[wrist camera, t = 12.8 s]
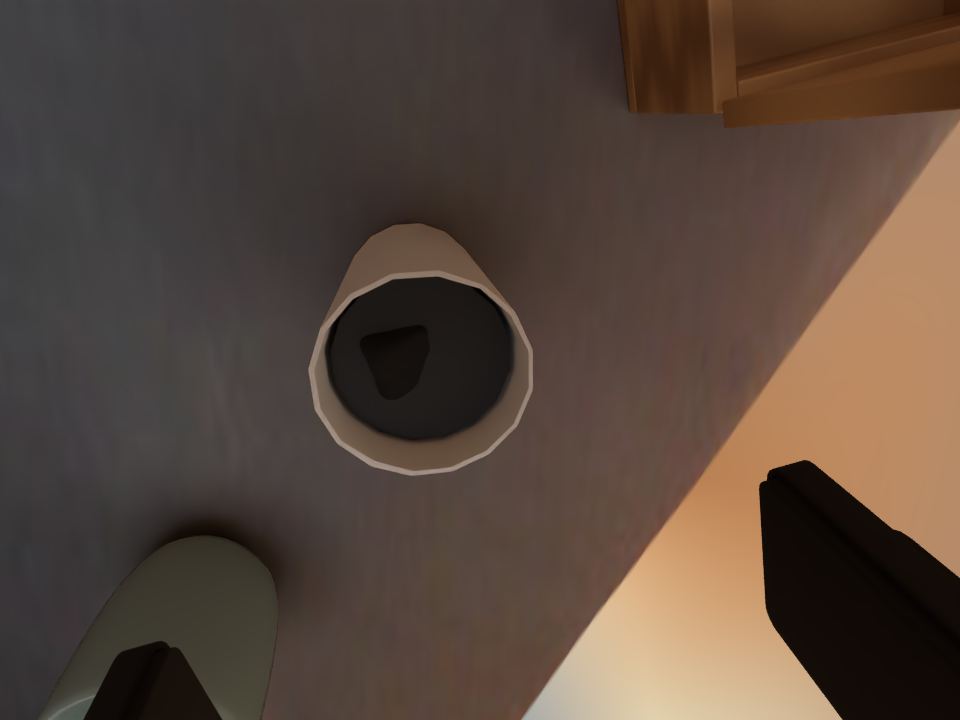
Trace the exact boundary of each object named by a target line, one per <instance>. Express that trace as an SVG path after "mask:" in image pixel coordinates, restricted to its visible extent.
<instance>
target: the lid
mask: <svg viewBox="0 0 960 720" xmlns="http://www.w3.org/2000/svg"><path fill="white" fill-rule="evenodd" d="M722 107H723V118H724V127H725V128H735V127H748V126H760V125H772V124H785V123H797V122H809V121H822V120H834V119H846V118H859V117H871V116H883V115H896V114H908V113H920V112H933V111H945V110H958V109H960V41H958V42H954V43H950V44H946V45H942V46H938V47H934V48H930V49H926V50H922V51H918V52H914V53H910V54H906V55H902V56H898V57H894V58H890V59H886V60H882V61H879V62H875V63H871V64H867V65H863V66H859V67H855V68H851V69H847V70H843V71H839V72H835V73H831V74H827V75H823V76H819V77H815V78H811V79H807V80H803V81H800V82H796V83H792V84H788V85H784V86H780V87H776V88H772V89H768V90H764V91H760V92H756V93H752V94H748V95H744V96H740V97H736V98H732V99H728V100H725V101H723V103H722Z"/></svg>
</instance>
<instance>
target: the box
mask: <svg viewBox="0 0 960 720" xmlns="http://www.w3.org/2000/svg"><path fill="white" fill-rule="evenodd" d="M617 3H618V11H619V20H620V29H621V37H622V46H623V55H624V64H625V72H626V81H627V90H628V98H629V107H630V112H631V113H666V114H719V113H723V107H722V103H723V101H725V100H728V99H732V98H736V97H740V96H744V95H748V94H752V93H756V92H760V91H764V90H768V89H772V88H776V87H780V86H784V85H788V84H792V83H796V82H800V81H803V80H807V79H811V78H815V77H819V76H823V75H827V74H831V73H835V72H839V71H843V70H847V69H851V68H855V67H859V66H863V65H867V64H871V63H875V62H879V61H882V60H886V59H890V58H894V57H898V56H902V55H906V54H910V53H914V52H918V51H922V50H926V49H930V48H934V47H938V46H942V45H946V44H950V43H954V42H958V41H960V0H617Z"/></svg>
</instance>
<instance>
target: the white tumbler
mask: <svg viewBox="0 0 960 720" xmlns="http://www.w3.org/2000/svg"><path fill="white" fill-rule="evenodd" d="M308 370H309V376H310V383H311V389H312V395H313V401H314V408H315V411H316V412H317V414H318V415H319V417H320V418H321V420H322V421H323V423H324V424H325V426H326V427H327V429H328V430H329V432H330V433H331V435H332V436H333V438H334V439H335V441H336V442H337V444H339V445H340V446H342V447H343V448H345V449H346V450H348V451H349V452H350V453H352V454H353V455H355V456H356V457H358V458H359V459H361V460H362V461H364V462H365V463H367V464H368V465H370V466H372V467H376V468H380V469H385V470H389V471H393V472H397V473H402V474H406V475H410V476H414V475H423V474H433V473H442V472H451V471H454V470H456V469H458V468H461V467H463V466H465V465H467V464H469V463H471V462H473V461H475V460H478V459H480V458H482V457H484V456H486V455H488V454H490V453H491V452H492V451H493V450H494V449H495V448H496V447H497V446H498V445H499V444H500V443H501V442H502V441H503V440H504V439H505V438H506V437H507V436H508V435H509V434H510V433H511V432H512V431H513V430H514V429H515V428H516V427H517V425H518V423H519V421H520V418H521V416H522V414H523V411H524V409H525V407H526V404H527V402H528V400H529V397H530V395H531V393H532V390H533V350H532V348H531V345H530V343H529V341H528V339H527V337H526V334H525V332H524V330H523V328H522V326H521V324H520V321H519V319H518V317H517V315H516V313H515V312H514V310H513V309H512V308H511V307H510V305H509V304H508V303H507V302H506V300H505V299H504V298H503V297H502V295H501V294H500V293H499V292H498V290H497V289H496V288H495V287H494V285H493V284H492V283H491V282H490V280H489V279H488V278H487V277H486V275H485V274H484V273H483V272H482V270H481V269H480V268H479V267H478V265H477V264H476V263H475V262H474V260H473V259H472V258H471V257H470V255H469V254H468V253H467V252H466V250H465V249H464V248H463V247H462V246H461V245H460V244H459V243H457V242H456V241H455V240H454V239H453V238H452V237H451V236H450V235H448V234H447V233H446V232H445V231H442V230H439V229H436V228H433V227H430V226H427V225H424V224H421V223H417V224H401V225H393V226H391V227H389V228H387V229H385V230H383V231H381V232H379V233H377V234H375V235H373V236H371V237H370V238H369V239H368V240H367V242H366V243H365V244H364V245H363V246H362V247H361V249H360V250H359V251H358V252H357V253H356V255H355V256H354V258H353V260H352V262H351V264H350V266H349V269H348V271H347V273H346V275H345V277H344V279H343V281H342V283H341V286H340V288H339V290H338V292H337V294H336V296H335V298H334V300H333V303H332V305H331V307H330V309H329V311H328V313H327V315H326V317H325V320H324V322H323V324H322V326H321V328H320V331H319V335H318V338H317V342H316V345H315V348H314V352H313V355H312V359H311V362H310V366H309V369H308Z"/></svg>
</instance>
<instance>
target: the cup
mask: <svg viewBox="0 0 960 720" xmlns="http://www.w3.org/2000/svg"><path fill="white" fill-rule="evenodd" d="M277 631H278V595H277V591H276V587H275V584H274V580H273V577H272V576H271V574H270V572H269V571H268V569H267V567H266V566H265V564H264V563H263V562H262V561H261V560H260V559H259V557H258V556H257V555H255V554H254V553H253V552H251V551H250V550H249V549H247V548H246V547H244V546H242V545H240V544H238V543H236V542H234V541H231V540H229V539H226V538H222V537H218V536H213V535H195V536H188V537H184V538H181V539H178V540H175V541H173V542H170V543H168V544H166V545H164V546H163V547H161V548H159V549H157V550H156V551H154V552H153V553H152V554H150V555H149V556H148V557H147V558H145V559H144V560H143V561H142V562H140V563H139V564H138V565H137V566H136V567H135V568H134V569H133V570H132V571H131V572H130V573H129V574H128V576H127V577H126V578H125V579H124V580H123V581H122V583H121V584H120V585H119V586H118V587H117V589H116V590H115V591H114V592H113V594H112V595H111V596H110V598H109V599H108V600H107V602H106V603H105V605H104V606H103V607H102V609H101V610H100V612H99V613H98V615H97V616H96V618H95V619H94V621H93V622H92V624H91V626H90V627H89V629H88V630H87V632H86V634H85V635H84V637H83V638H82V640H81V642H80V643H79V645H78V647H77V648H76V650H75V652H74V653H73V655H72V657H71V659H70V660H69V662H68V664H67V665H66V667H65V669H64V671H63V672H62V674H61V676H60V677H59V679H58V681H57V683H56V684H55V686H54V688H53V690H52V691H51V693H50V695H49V697H48V698H47V700H46V702H45V704H44V706H43V708H42V709H41V711H40V713H39V715H38V717H37V719H36V720H83V719H84V717H85V715H86V713H87V711H88V709H89V707H90V705H91V703H92V701H93V700H94V698H95V696H96V694H97V692H98V690H99V688H100V686H101V684H102V682H103V680H104V678H105V676H106V674H107V672H108V670H109V668H110V666H111V664H112V662H113V661H114V659H115V658H116V656H117V655H118V654H119V653H121V652H122V651H124V650H128V649H131V648H135V647H139V646H142V645H146V644H149V643H153V642H156V641H164V642H166V643H167V644H168V645H169V646H170V648H172V647H177V648H179V649H180V650H181V652H182V653H183V655H184V656H185V658H186V660H187V661H188V663H189V665H190V666H191V668H192V670H193V671H194V673H195V675H196V676H197V678H198V680H199V681H200V683H201V685H202V686H203V688H204V690H205V691H206V693H207V695H208V696H209V698H210V700H211V702H212V703H213V705H214V707H215V708H216V710H217V712H218V713H219V715H220V717H221V718H222V720H262V717H263V712H264V708H265V703H266V698H267V693H268V688H269V683H270V678H271V673H272V667H273V661H274V655H275V648H276V641H277Z"/></svg>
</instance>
